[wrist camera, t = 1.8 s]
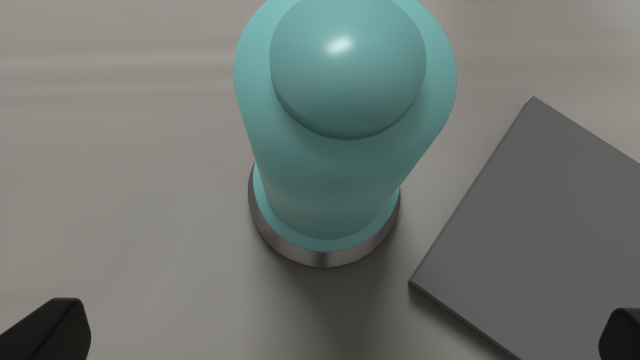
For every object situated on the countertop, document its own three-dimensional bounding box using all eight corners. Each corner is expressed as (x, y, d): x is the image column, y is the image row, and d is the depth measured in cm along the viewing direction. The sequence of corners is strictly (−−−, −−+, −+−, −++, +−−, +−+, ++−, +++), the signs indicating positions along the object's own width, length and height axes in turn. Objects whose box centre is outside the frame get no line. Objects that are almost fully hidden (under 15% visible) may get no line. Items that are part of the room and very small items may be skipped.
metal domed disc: (425, 178, 21) (437, 164, 19) (341, 299, 20) (345, 298, 18) (308, 97, 22) (308, 77, 20) (218, 208, 21) (210, 197, 19)
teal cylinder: (423, 166, 19) (534, 31, 10) (343, 282, 18) (385, 248, 9) (310, 89, 20) (317, -102, 11) (224, 195, 19) (150, 80, 10)
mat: (723, 230, 21) (740, 227, 20) (622, 437, 19) (636, 442, 18) (525, 103, 23) (533, 96, 22) (407, 282, 20) (412, 280, 19)
